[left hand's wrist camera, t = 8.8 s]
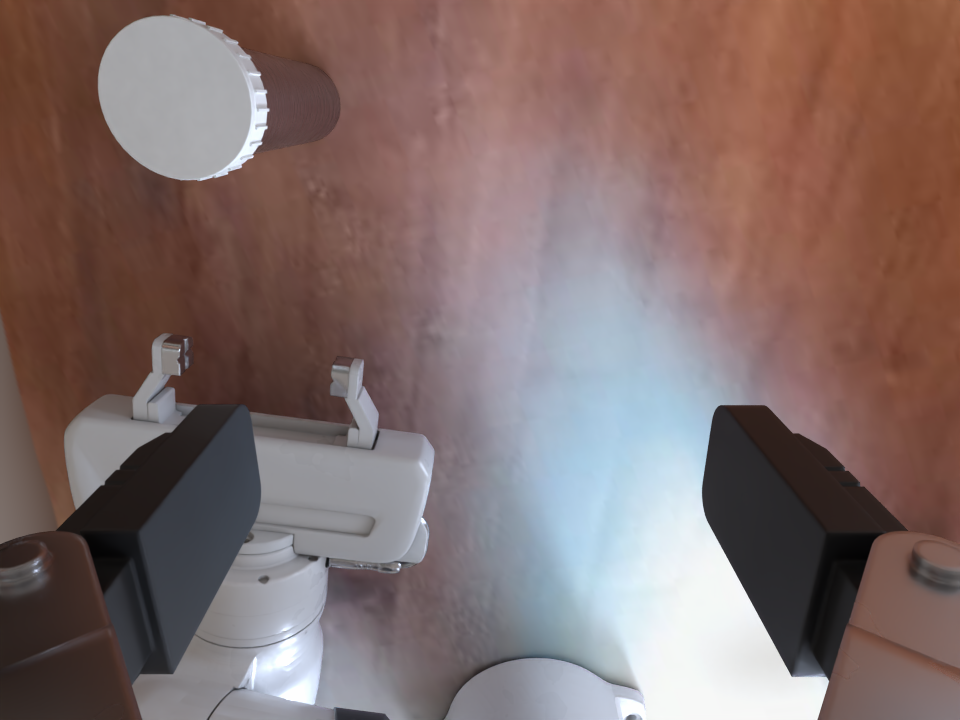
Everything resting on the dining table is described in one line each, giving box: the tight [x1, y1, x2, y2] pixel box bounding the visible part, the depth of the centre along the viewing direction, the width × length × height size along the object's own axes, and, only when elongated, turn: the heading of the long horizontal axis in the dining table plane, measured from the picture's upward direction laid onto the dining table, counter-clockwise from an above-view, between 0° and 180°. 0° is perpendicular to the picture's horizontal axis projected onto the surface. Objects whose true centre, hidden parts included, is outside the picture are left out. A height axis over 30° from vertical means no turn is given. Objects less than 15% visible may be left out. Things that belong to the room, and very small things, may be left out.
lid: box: [98, 14, 269, 181], centre depth 22 cm, size 5×5×2 cm
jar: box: [241, 48, 340, 154], centre depth 29 cm, size 4×4×16 cm
